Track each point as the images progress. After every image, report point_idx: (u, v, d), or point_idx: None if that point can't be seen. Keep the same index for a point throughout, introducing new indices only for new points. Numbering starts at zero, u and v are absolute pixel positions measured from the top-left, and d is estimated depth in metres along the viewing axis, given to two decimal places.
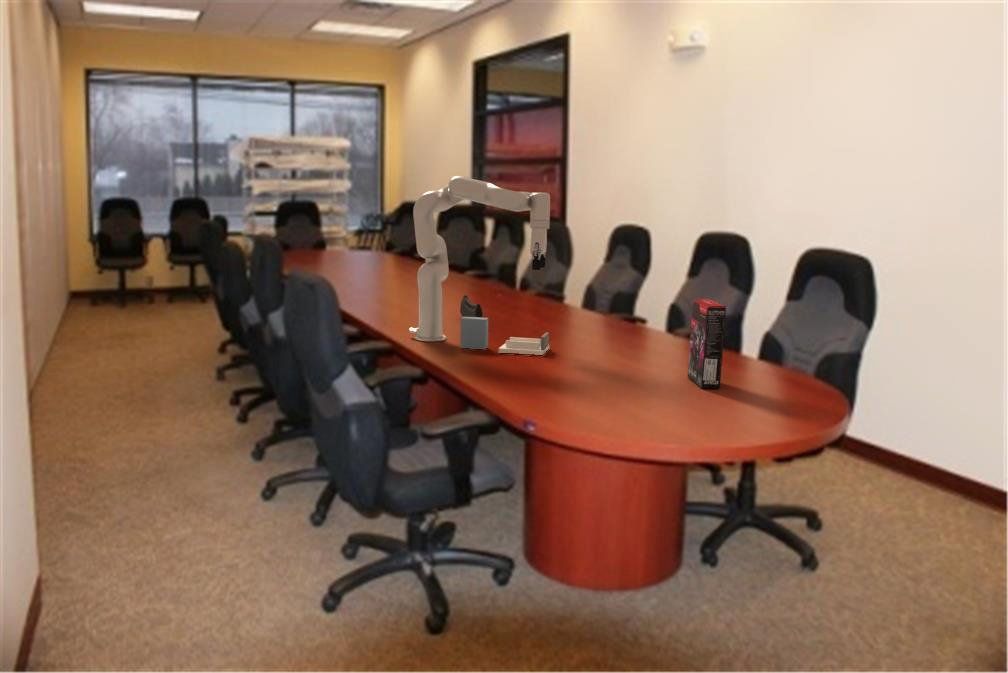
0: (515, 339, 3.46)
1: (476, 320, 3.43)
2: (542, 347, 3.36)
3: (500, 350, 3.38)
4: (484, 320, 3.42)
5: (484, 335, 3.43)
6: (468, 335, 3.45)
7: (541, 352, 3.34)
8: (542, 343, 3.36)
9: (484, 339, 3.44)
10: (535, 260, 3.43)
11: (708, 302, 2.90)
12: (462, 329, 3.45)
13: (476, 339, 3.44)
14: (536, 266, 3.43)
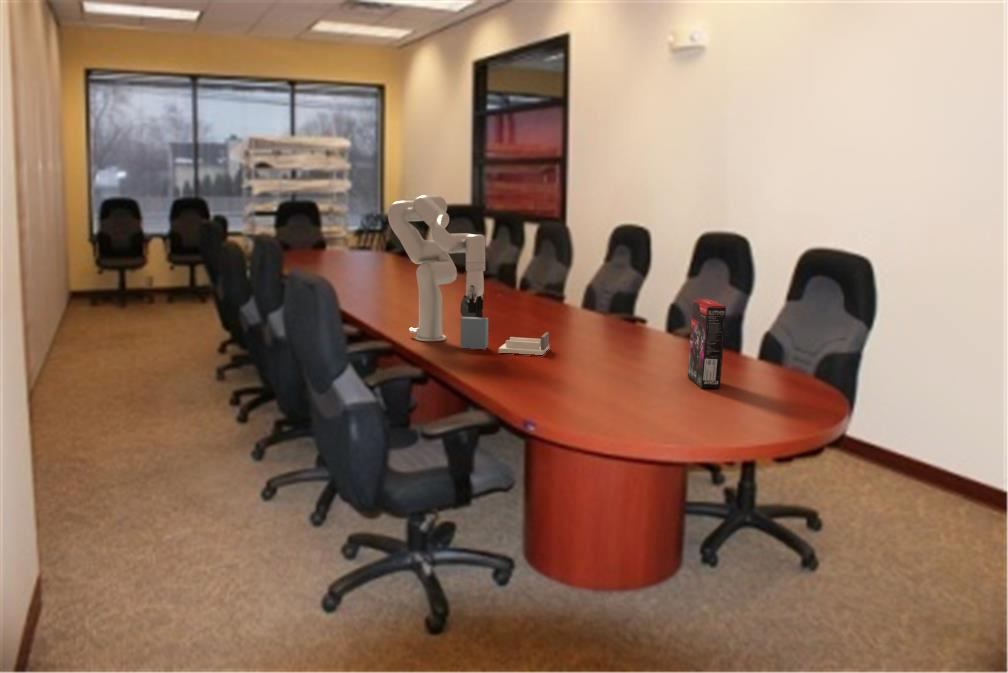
0: (515, 339, 3.46)
1: (476, 320, 3.43)
2: (542, 347, 3.36)
3: (500, 350, 3.38)
4: (484, 320, 3.42)
5: (484, 335, 3.43)
6: (468, 335, 3.45)
7: (541, 352, 3.34)
8: (542, 343, 3.36)
9: (484, 339, 3.44)
10: (471, 303, 3.38)
11: (708, 302, 2.90)
12: (462, 329, 3.45)
13: (476, 339, 3.44)
14: (472, 309, 3.38)
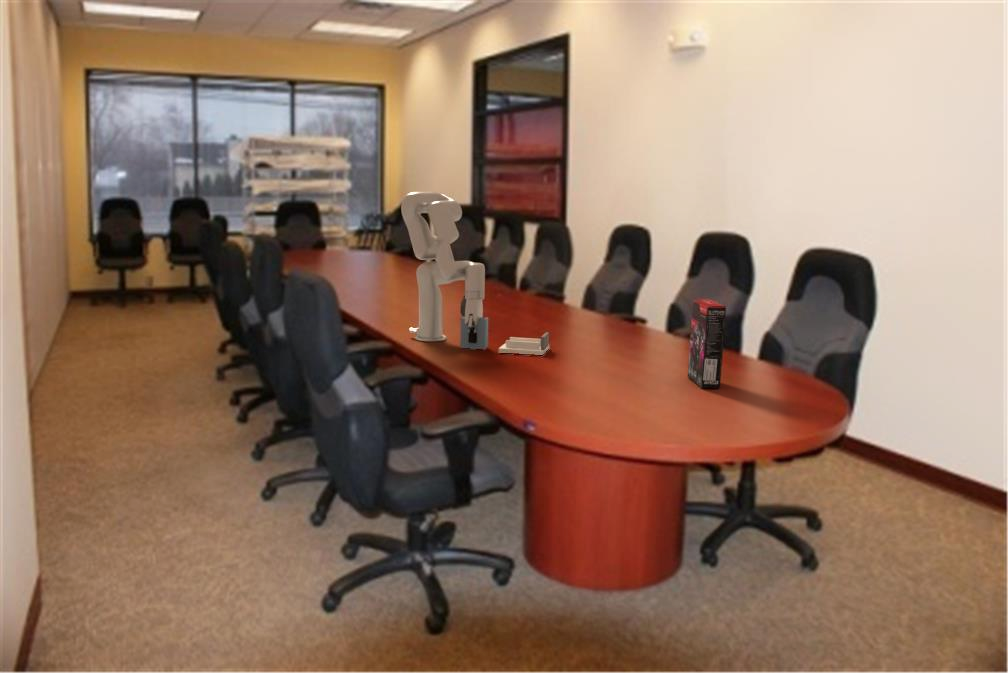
0: (515, 339, 3.46)
1: None
2: (542, 347, 3.36)
3: (500, 350, 3.38)
4: (484, 320, 3.42)
5: (484, 335, 3.43)
6: (468, 335, 3.45)
7: (541, 352, 3.34)
8: (542, 343, 3.36)
9: (484, 339, 3.44)
10: (471, 333, 3.43)
11: (708, 302, 2.90)
12: (462, 329, 3.45)
13: None
14: (472, 339, 3.43)
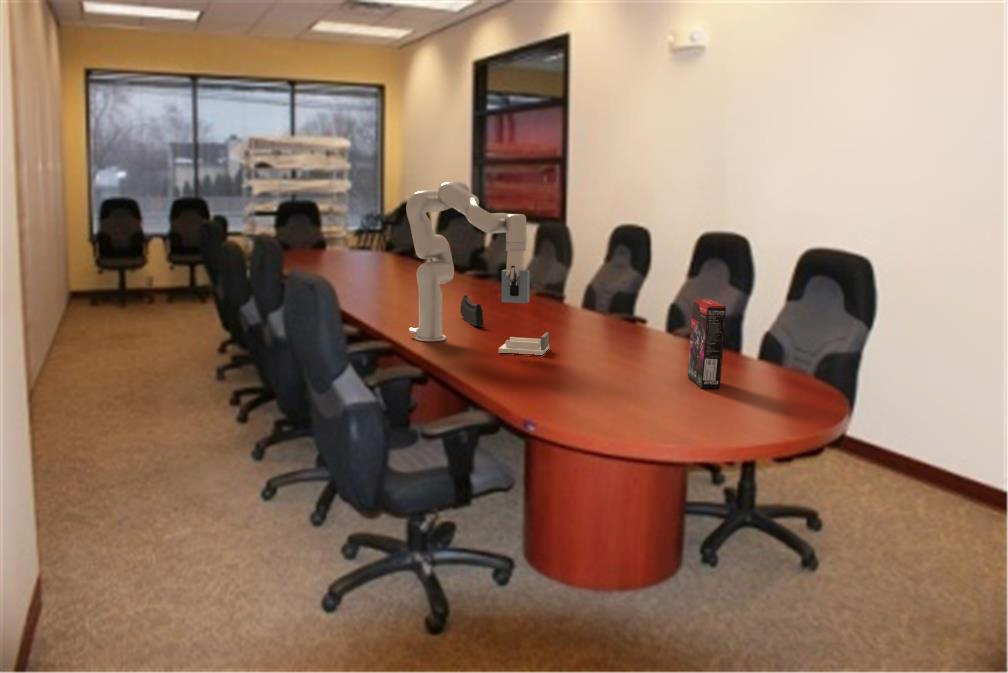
0: (515, 339, 3.46)
1: None
2: (542, 347, 3.36)
3: (500, 350, 3.38)
4: (526, 272, 3.35)
5: (526, 287, 3.36)
6: (509, 288, 3.38)
7: (541, 352, 3.34)
8: (542, 343, 3.36)
9: (526, 292, 3.36)
10: (513, 286, 3.36)
11: (708, 302, 2.90)
12: (503, 282, 3.38)
13: None
14: (514, 292, 3.36)
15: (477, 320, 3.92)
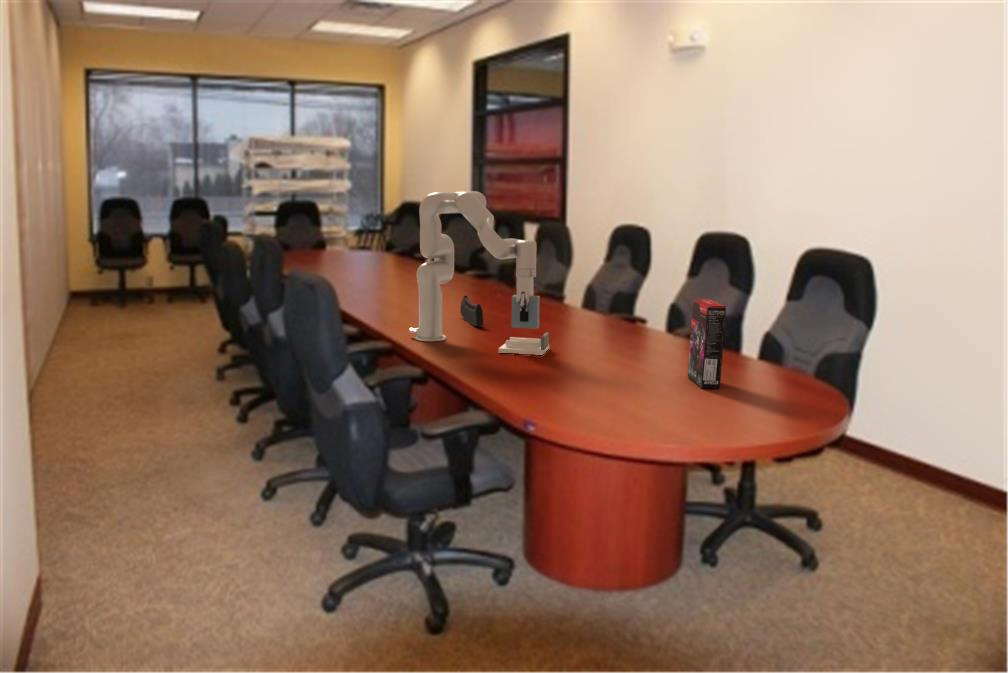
0: (515, 339, 3.46)
1: None
2: (542, 347, 3.36)
3: (500, 350, 3.38)
4: (536, 298, 3.36)
5: (536, 313, 3.37)
6: (519, 314, 3.39)
7: (541, 352, 3.34)
8: (542, 343, 3.36)
9: (536, 317, 3.37)
10: (523, 312, 3.37)
11: (708, 302, 2.90)
12: (513, 307, 3.39)
13: None
14: (524, 318, 3.37)
15: (477, 320, 3.91)
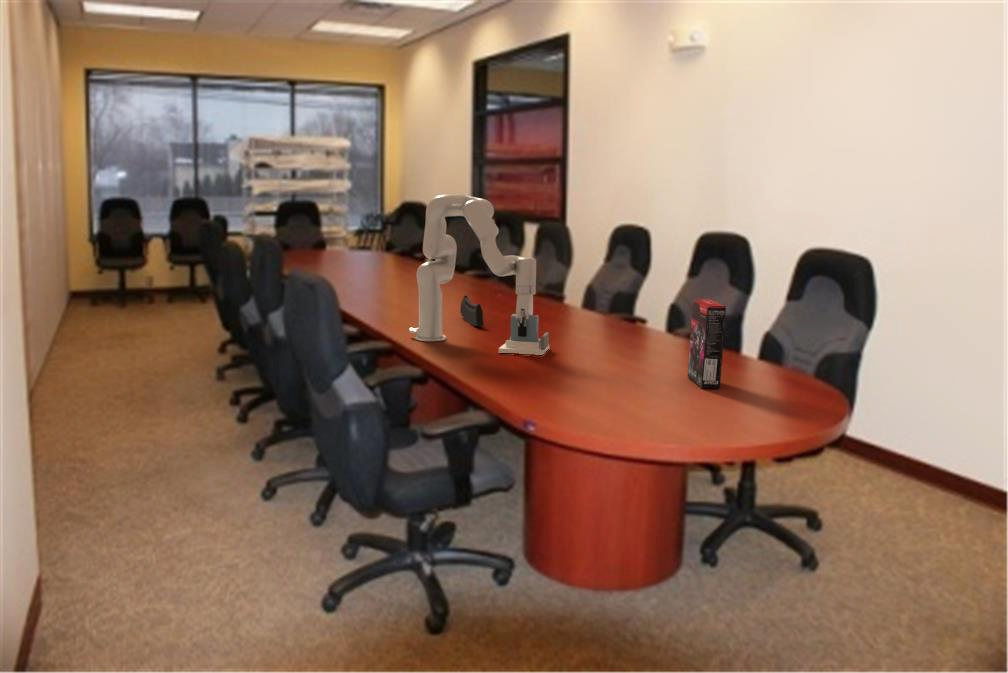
0: None
1: None
2: (542, 347, 3.36)
3: (500, 350, 3.38)
4: (535, 317, 3.38)
5: (535, 333, 3.39)
6: None
7: (541, 352, 3.34)
8: (542, 343, 3.36)
9: (535, 337, 3.39)
10: (521, 327, 3.36)
11: (708, 302, 2.90)
12: (512, 327, 3.40)
13: (526, 337, 3.40)
14: (522, 333, 3.36)
15: (477, 320, 3.91)
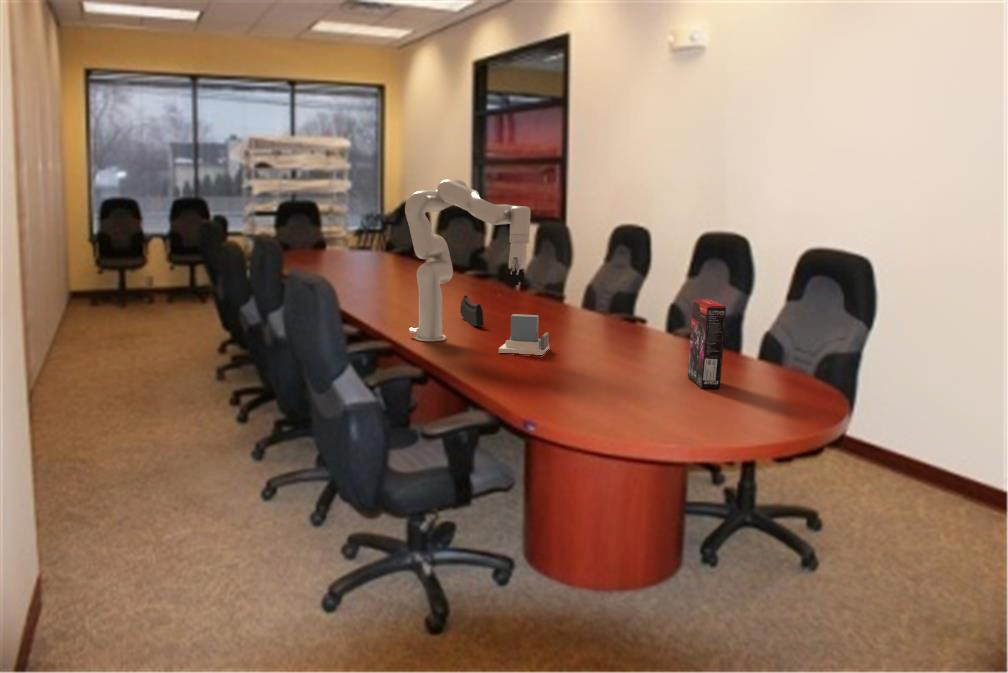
0: None
1: (527, 317, 3.38)
2: (542, 347, 3.36)
3: (500, 350, 3.38)
4: (535, 317, 3.38)
5: (535, 333, 3.39)
6: (518, 333, 3.40)
7: (541, 352, 3.34)
8: (542, 343, 3.36)
9: (535, 337, 3.39)
10: (513, 275, 3.36)
11: (708, 302, 2.90)
12: (512, 327, 3.40)
13: (526, 337, 3.40)
14: (514, 281, 3.36)
15: (477, 320, 3.91)
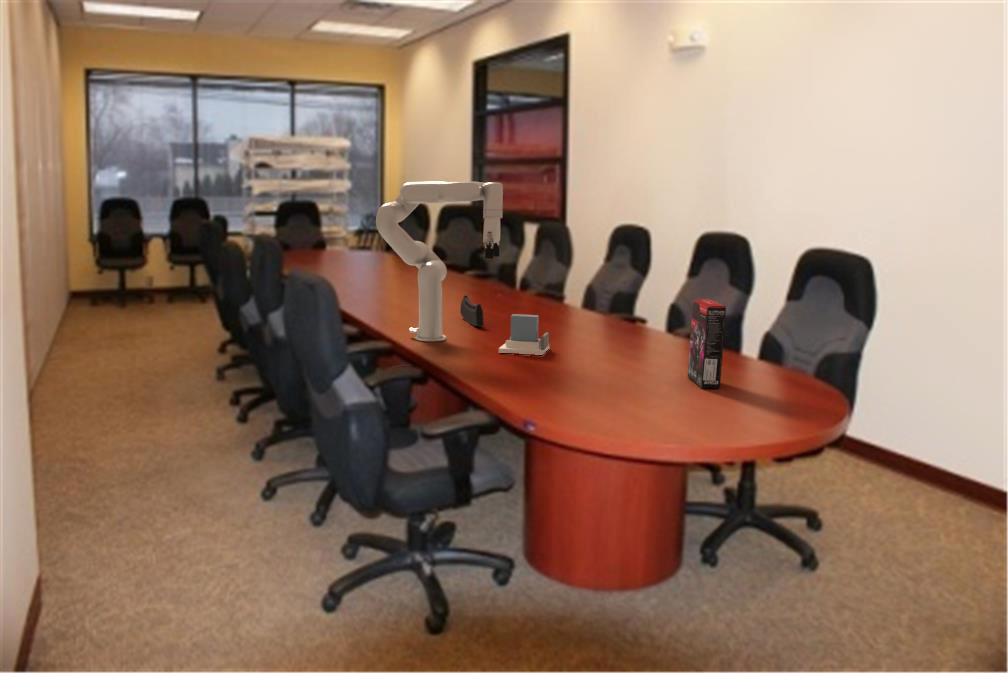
0: None
1: (527, 317, 3.38)
2: (542, 347, 3.36)
3: (500, 350, 3.38)
4: (535, 317, 3.38)
5: (535, 333, 3.39)
6: (518, 333, 3.40)
7: (541, 352, 3.34)
8: (542, 343, 3.36)
9: (535, 337, 3.39)
10: (488, 249, 3.49)
11: (708, 302, 2.90)
12: (512, 327, 3.40)
13: (526, 337, 3.40)
14: (489, 255, 3.49)
15: (477, 320, 3.91)
